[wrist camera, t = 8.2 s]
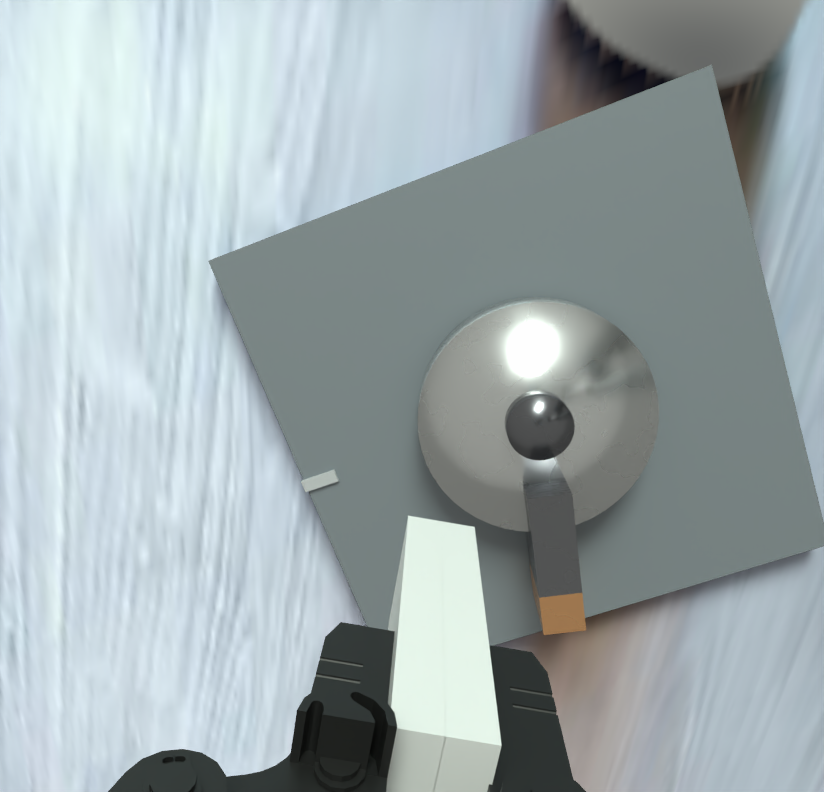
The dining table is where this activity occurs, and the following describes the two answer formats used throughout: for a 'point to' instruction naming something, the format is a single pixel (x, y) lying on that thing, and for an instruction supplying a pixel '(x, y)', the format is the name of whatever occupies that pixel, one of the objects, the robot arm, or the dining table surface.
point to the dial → (539, 431)
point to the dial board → (557, 278)
